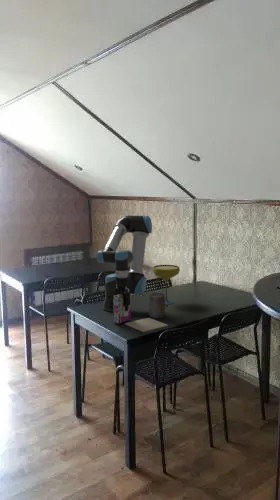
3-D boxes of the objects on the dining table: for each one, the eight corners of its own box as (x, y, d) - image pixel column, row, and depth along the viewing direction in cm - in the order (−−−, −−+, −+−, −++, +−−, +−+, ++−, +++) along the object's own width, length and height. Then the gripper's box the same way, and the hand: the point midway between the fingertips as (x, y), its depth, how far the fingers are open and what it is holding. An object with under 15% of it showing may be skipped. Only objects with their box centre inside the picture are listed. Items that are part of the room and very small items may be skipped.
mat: (124, 324, 262) (124, 323, 262) (149, 318, 273) (149, 317, 273) (143, 332, 248) (143, 331, 248) (167, 326, 259) (167, 325, 259)
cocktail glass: (154, 298, 319) (154, 264, 316) (180, 299, 317) (180, 264, 313) (151, 305, 302) (151, 269, 298) (178, 306, 299) (178, 269, 295)
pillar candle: (164, 313, 283) (164, 290, 281) (165, 318, 273) (165, 294, 271) (148, 314, 283) (148, 291, 280) (149, 318, 273) (149, 294, 271)
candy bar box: (119, 324, 261) (118, 297, 258) (113, 322, 264) (112, 295, 261) (132, 319, 269) (131, 293, 267) (125, 317, 272) (125, 291, 270)
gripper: (107, 275, 267) (108, 312, 271) (125, 280, 252) (126, 319, 256) (118, 273, 272) (119, 309, 276) (136, 278, 257) (136, 317, 261)
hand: (122, 314), depth 266 cm, fingers closed on candy bar box, 6 cm apart
